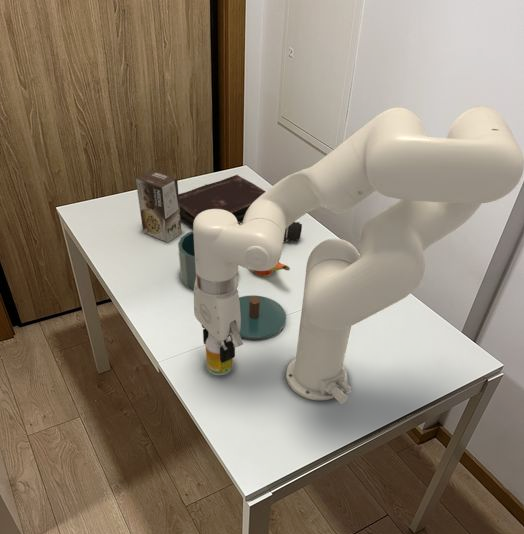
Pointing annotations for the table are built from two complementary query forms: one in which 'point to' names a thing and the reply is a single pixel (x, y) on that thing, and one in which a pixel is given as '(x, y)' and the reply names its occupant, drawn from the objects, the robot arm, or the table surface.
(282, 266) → the magic lamp
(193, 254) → the tin
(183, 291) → the table surface
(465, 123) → the robot arm
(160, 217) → the coffee box
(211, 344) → the supplement bottle
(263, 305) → the lid
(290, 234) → the camera
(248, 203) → the diary
